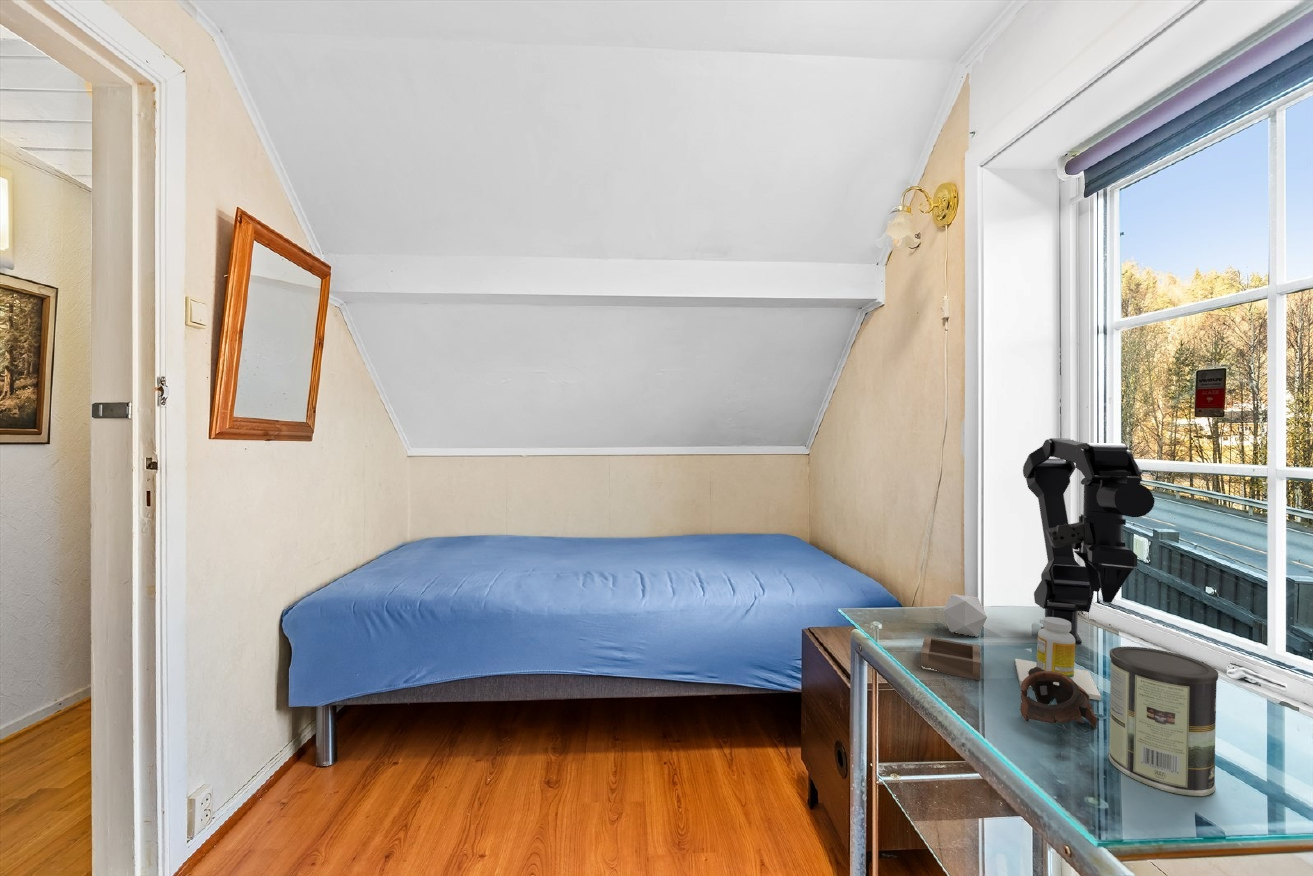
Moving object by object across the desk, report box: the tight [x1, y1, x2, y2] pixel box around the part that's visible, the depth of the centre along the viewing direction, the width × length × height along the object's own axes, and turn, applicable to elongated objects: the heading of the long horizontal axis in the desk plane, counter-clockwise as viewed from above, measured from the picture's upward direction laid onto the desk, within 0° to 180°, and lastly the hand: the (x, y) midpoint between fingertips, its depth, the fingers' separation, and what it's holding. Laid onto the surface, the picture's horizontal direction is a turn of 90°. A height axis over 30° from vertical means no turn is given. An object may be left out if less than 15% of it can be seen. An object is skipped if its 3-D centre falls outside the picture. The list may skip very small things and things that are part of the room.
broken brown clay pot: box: [1019, 667, 1098, 730], centre depth 86 cm, size 12×10×8 cm
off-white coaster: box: [1014, 658, 1102, 702], centre depth 99 cm, size 11×11×1 cm
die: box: [942, 593, 988, 638], centre depth 123 cm, size 8×9×10 cm
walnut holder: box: [920, 635, 982, 681], centre depth 105 cm, size 9×9×3 cm
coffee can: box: [1108, 646, 1219, 797], centre depth 72 cm, size 10×10×14 cm
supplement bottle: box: [1036, 616, 1076, 679], centre depth 99 cm, size 5×5×10 cm
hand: (1100, 596), depth 105 cm, fingers open, 9 cm apart
